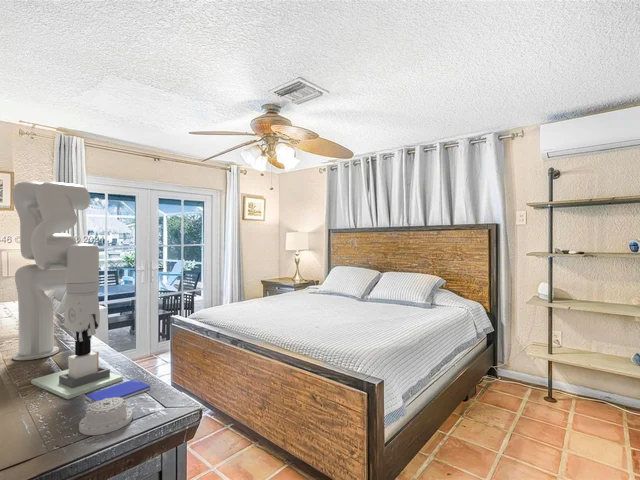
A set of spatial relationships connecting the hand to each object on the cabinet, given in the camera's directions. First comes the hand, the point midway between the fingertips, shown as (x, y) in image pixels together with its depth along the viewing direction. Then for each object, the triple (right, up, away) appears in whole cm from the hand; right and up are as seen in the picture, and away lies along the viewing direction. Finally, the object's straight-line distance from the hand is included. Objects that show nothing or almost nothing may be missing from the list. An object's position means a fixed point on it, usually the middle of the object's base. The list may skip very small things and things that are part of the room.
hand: (82, 354), depth 97 cm
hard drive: (+14, -9, -6) cm, 17 cm away
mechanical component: (+19, -9, -21) cm, 30 cm away
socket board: (-2, -8, +1) cm, 9 cm away
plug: (0, -7, 0) cm, 7 cm away
